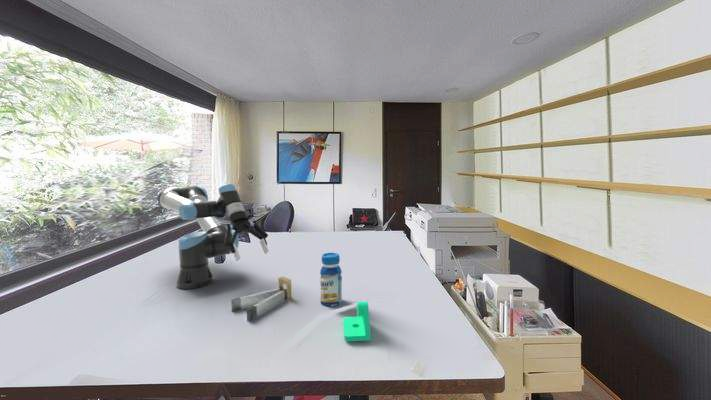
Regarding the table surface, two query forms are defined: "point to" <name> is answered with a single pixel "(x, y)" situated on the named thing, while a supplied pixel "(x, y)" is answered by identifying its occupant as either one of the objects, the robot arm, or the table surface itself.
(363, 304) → the camera mount
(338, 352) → the table surface
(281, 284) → the brushed brass block
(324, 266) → the beverage bottle
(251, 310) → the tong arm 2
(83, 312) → the table surface
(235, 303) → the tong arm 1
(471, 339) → the table surface
